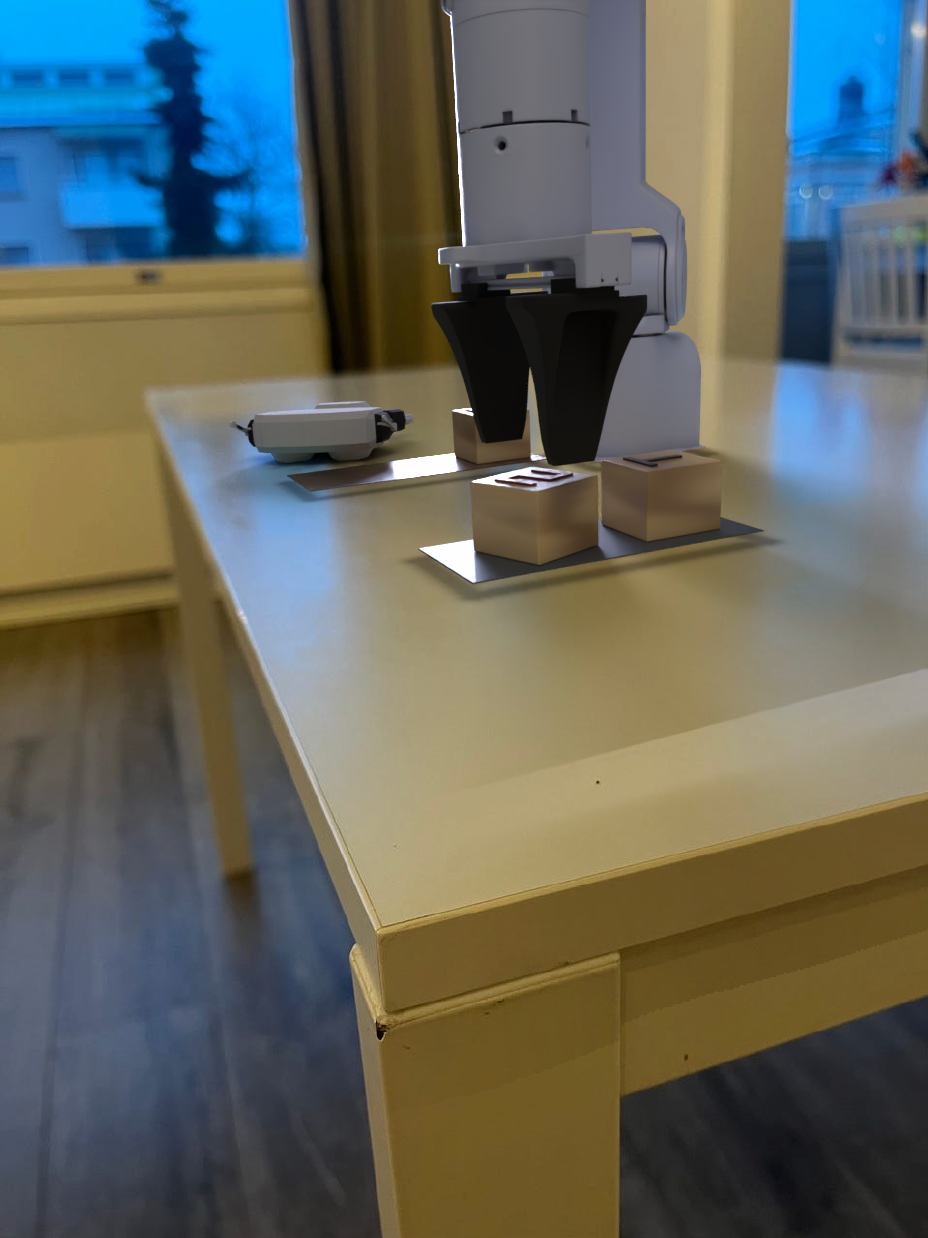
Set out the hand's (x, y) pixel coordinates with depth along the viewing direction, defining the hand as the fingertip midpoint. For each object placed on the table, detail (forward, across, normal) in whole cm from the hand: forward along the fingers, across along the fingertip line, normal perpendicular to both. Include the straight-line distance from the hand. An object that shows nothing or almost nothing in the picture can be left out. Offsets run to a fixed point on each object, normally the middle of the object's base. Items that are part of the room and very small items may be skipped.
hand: (534, 451), depth 45 cm
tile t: (+5, 0, +7) cm, 9 cm away
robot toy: (+6, -37, -1) cm, 37 cm away
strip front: (+5, 0, +3) cm, 6 cm away
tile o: (+5, -25, +8) cm, 27 cm away
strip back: (+5, -25, +2) cm, 26 cm away
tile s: (+5, 0, 0) cm, 5 cm away
